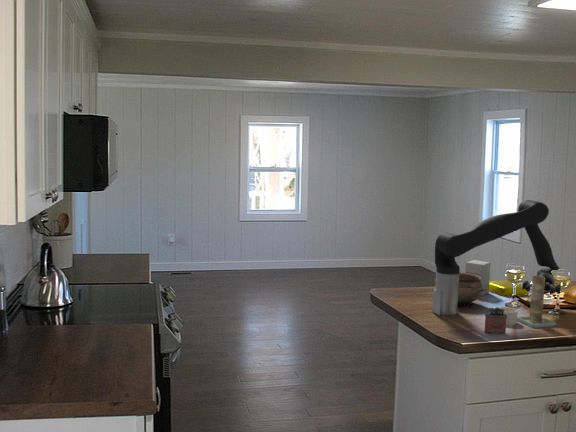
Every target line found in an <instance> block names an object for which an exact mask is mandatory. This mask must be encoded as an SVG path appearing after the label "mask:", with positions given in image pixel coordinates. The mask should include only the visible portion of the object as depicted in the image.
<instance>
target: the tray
mask: <svg viewBox="0 0 576 432" xmlns="http://www.w3.org/2000/svg"><path fill="white" fill-rule="evenodd" d="M529 320H530V315H526V316H525V315H524V316H517V323H520V324H523V325H525V326H528V327H529V328H532V329H537V328H541V329H542V328H553V327H554V328H555V327H558V323H557V322H555V321H553V320H550V319H548V318H546V317H543V316H542V323H540V324H537V323H531V322H529Z"/></svg>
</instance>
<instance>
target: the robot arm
mask: <svg viewBox="0 0 576 432" xmlns="http://www.w3.org/2000/svg"><path fill="white" fill-rule="evenodd" d="M549 213H550V209H549V207H548V206H547V205H546V204H545V203H543V202H541V201H537V200H533V199H532V200H529V199H525V200H523V201H521V202H520V203H519V205H518V208H517V211H515V212H509V213H501V214H497V215H493V216H491V217H488V218H485V219H483V220H482V221H480V222H479V223H478V224H477V225H476V226H475V227H473V228H472V229H471V230H469V231H467V232H463V233H459V234H453V233H450V232H442V233H440V234H439V235H438V236H437V237H436V240H435V244H434V264H435V267H436V274H435V279H436V282H435V287H434V289H433V291H432V306H431V308H432V309H431V312H432V313H433V314H436V315H438V316H442V315H444V316H455V315H458V306H459V305H458V289H459V273H460V271H461V269H460V268H461V267H460V265H458V263H457V262H456V258H458V257H460V256H463V255H464V254H466V253H468V252H469V251H472V250H473V249H475V248H477V247H479V246H483V245H485V244H487V243H490V242H493V241H495V240H498V239H500V238H503V237H505V236H506V235H509V234H512V233H514V232H517V231H519V230H521V229H525V232H526V234H527V236H528V238H529V241H530V243H531V246H532V249H533V253H534V256H535V260H536V263H537V265H538V266H540V267H544V268H542V269H539V270H538V271H537V272H536V276H543V277H545V287H544V295H547V294H549V295H553V294H558V295H560V294H561V292H562V291H561V290H562V289H561V287H562V285H561V284H557V285H556V284H555V280H554V277H553V275H552V273H551V271H552V270H558V269H560V270H561V268H560V267H559V266H558V264H557V262H556V260H555V258H554V254H553V251H552V247H551V244H550V242H549V240H548V239H547V237H546V236H545V235H544V234H543V232H542V230H541V228H540V227H539V224H541V223H542V222H544V221H545V220H546V219H547V218H548V216H549ZM522 284H523V285H522V289H526V290H527V292H531V291H532V281H531V282H529V281H528V280H524V281H523V282H522Z"/></svg>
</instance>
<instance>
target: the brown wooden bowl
mask: <svg viewBox="0 0 576 432" xmlns="http://www.w3.org/2000/svg"><path fill="white" fill-rule="evenodd" d="M480 279H481V277H480V276H478V275H475V274H470V273H465V272H460V273H459V289H458V306H466V305H469V304H471V303H473V302H475V301H477V300H478V299H479V298H480V297H482V296H481V294H482V292H483V291H486V290H488V289H487V288H485V289H483V288H482V284H481V281H480ZM433 282H434V283H436V278H435V279H434V280H433Z"/></svg>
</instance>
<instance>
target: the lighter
mask: <svg viewBox="0 0 576 432" xmlns="http://www.w3.org/2000/svg"><path fill="white" fill-rule="evenodd" d="M498 307H499V306H498ZM498 307H495V308H494V307H488V308H487V312H488V313H485V314H484V317H485V319H484V331H483V333H484V334H487V335H506V334H507V333H506V331H507V330H506V329H507V325H506V318H507V315H506V314H504V309H499V308H498Z"/></svg>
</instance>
